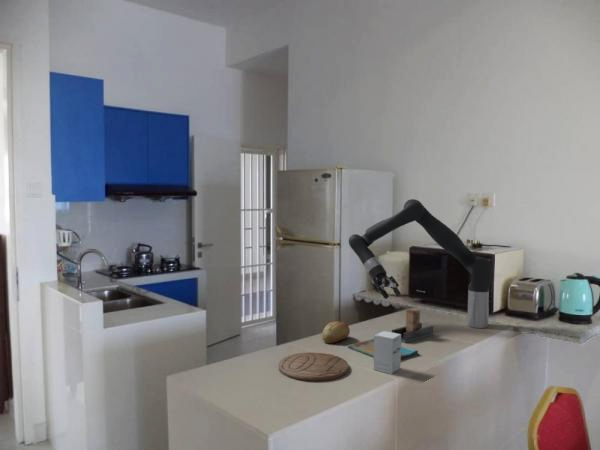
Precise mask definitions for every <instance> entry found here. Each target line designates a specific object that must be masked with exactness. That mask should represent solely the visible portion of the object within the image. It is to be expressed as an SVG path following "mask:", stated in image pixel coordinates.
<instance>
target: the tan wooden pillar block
mask: <svg viewBox="0 0 600 450" xmlns="http://www.w3.org/2000/svg"><path fill="white" fill-rule="evenodd" d="M405 316H406V318H405V320H406V321H405V326H406V332H409V331H413V330H417V329H420V323H421V321H420V320H421V309H418V308H410V309H407V310H406V314H405Z"/></svg>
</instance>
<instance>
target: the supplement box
mask: <svg viewBox="0 0 600 450" xmlns="http://www.w3.org/2000/svg"><path fill="white" fill-rule="evenodd" d="M373 339H374V358H373V370H374V371H379V372H382V373H385V374H390V375H392V374H393V373H395V372H397V371H399V369H401V364H402V363H401V361H402V360H401V347H402V342H401V334H397V333H392V331H386V330H383V331H381V332H379V333H376V334H375V335H374V338H373Z"/></svg>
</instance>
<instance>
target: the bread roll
mask: <svg viewBox="0 0 600 450" xmlns="http://www.w3.org/2000/svg"><path fill="white" fill-rule="evenodd" d="M350 330H351V329H350V327H349V325H348V323H346V322H342V321H332V322H329V323H328V324H327V325H325V327H324V329H323V330H322V333H321V334H322V335H321V337H322V340H323V342H325V343H327V344H332V343H333V344H334V343H336V342H337V343H338V342H339V341H342V340H343V339H347V338H348V337H349V336H350V333H351V331H350Z"/></svg>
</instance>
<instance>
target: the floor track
mask: <svg viewBox="0 0 600 450" xmlns="http://www.w3.org/2000/svg"><path fill="white" fill-rule="evenodd" d="M434 328H435V327H434V325H427V326H424V327H423V323H422V322H420V329H417V330H413V331H409V332H406V325H405V326H402V327H397V328H393V329H391V332H392V333H397V334H401V343H403V344H408V343H410V342H413V341H416V340H420V339H424V338H428V337H430V336H433V335H434Z"/></svg>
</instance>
